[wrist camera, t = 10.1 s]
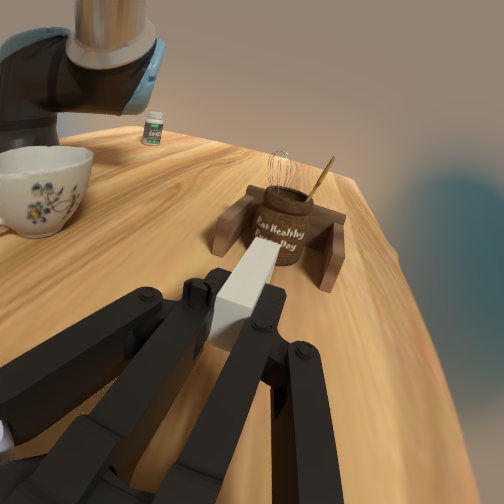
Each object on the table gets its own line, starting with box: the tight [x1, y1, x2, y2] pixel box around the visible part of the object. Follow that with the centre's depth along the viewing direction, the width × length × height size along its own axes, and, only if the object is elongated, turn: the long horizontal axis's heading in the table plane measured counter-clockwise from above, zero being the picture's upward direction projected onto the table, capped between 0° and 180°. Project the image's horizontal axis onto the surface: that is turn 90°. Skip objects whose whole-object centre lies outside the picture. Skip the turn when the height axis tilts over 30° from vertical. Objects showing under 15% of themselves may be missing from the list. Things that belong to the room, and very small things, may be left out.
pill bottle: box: [142, 112, 164, 146], centre depth 72 cm, size 5×5×8 cm
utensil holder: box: [249, 151, 335, 266], centre depth 32 cm, size 6×6×12 cm
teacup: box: [0, 146, 94, 239], centre depth 25 cm, size 15×12×8 cm
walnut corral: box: [212, 185, 346, 293], centre depth 34 cm, size 11×12×5 cm
